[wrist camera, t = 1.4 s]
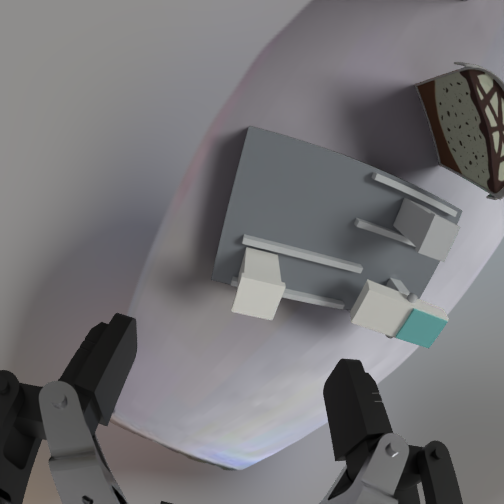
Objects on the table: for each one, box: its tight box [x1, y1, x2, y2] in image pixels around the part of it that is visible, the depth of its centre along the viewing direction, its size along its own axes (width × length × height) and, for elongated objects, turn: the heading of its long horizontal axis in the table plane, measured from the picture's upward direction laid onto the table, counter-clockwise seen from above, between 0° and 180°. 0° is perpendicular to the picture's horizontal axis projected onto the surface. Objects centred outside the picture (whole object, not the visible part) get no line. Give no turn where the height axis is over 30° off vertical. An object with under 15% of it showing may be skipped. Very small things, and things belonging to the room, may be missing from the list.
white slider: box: [231, 247, 286, 320], centre depth 24 cm, size 3×3×6 cm
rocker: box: [350, 279, 449, 348], centre depth 24 cm, size 5×10×2 cm, turn 75°
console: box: [211, 126, 462, 310], centre depth 25 cm, size 15×24×6 cm, turn 75°
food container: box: [415, 62, 504, 200], centre depth 17 cm, size 12×6×10 cm, turn 26°
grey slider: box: [393, 198, 460, 262], centre depth 21 cm, size 3×3×6 cm
